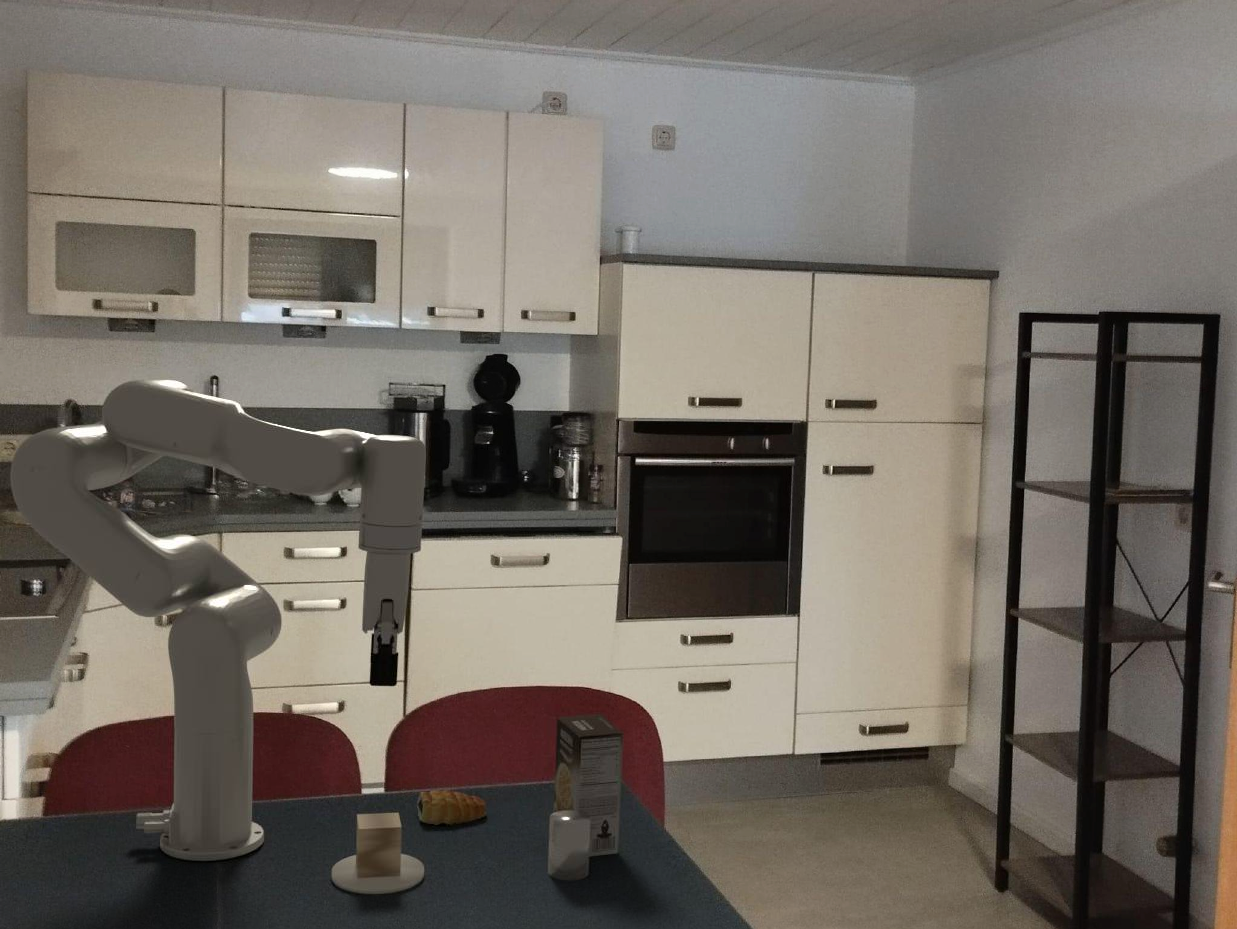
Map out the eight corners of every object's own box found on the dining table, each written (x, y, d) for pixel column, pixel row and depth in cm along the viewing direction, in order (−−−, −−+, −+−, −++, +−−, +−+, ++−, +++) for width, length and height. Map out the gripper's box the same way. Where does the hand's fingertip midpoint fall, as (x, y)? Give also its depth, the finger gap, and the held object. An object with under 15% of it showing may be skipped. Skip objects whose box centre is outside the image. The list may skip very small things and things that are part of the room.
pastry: (480, 807, 187) (481, 781, 187) (490, 824, 181) (491, 797, 181) (413, 812, 185) (414, 785, 184) (421, 829, 178) (422, 801, 178)
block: (357, 878, 159) (358, 828, 158) (355, 862, 163) (357, 814, 163) (400, 875, 160) (401, 827, 159) (397, 860, 165) (398, 812, 164)
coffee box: (550, 834, 178) (554, 715, 176) (595, 829, 180) (600, 712, 179) (573, 859, 169) (578, 735, 168) (620, 854, 172) (625, 731, 170)
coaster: (332, 896, 155) (332, 889, 155) (330, 860, 166) (330, 854, 166) (427, 891, 158) (428, 884, 158) (420, 856, 168) (420, 850, 168)
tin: (551, 881, 162) (553, 825, 161) (544, 865, 167) (546, 811, 166) (592, 879, 163) (594, 823, 163) (583, 863, 168) (585, 809, 167)
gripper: (360, 525, 171) (353, 657, 172) (357, 547, 154) (350, 693, 155) (419, 528, 172) (412, 658, 174) (423, 550, 155) (415, 694, 157)
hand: (383, 674), depth 164 cm, fingers open, 9 cm apart
